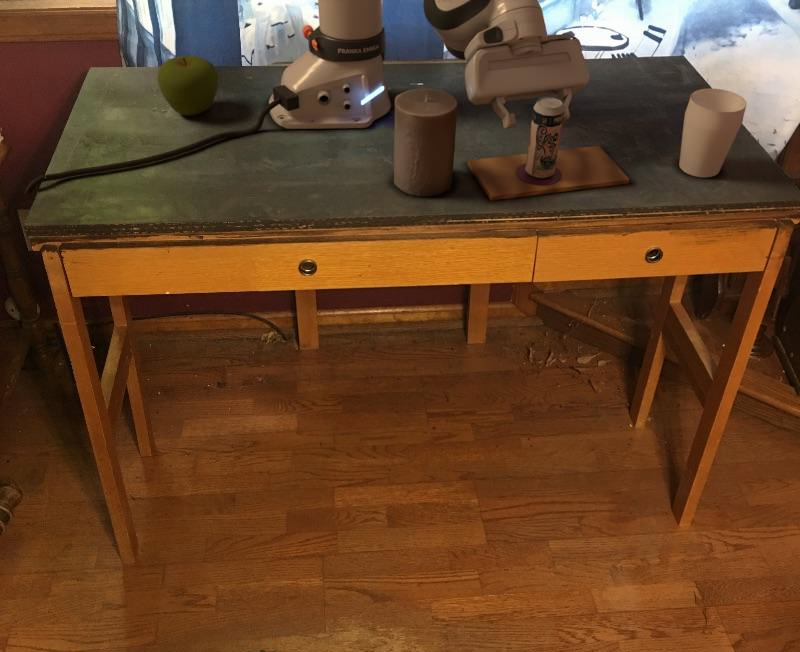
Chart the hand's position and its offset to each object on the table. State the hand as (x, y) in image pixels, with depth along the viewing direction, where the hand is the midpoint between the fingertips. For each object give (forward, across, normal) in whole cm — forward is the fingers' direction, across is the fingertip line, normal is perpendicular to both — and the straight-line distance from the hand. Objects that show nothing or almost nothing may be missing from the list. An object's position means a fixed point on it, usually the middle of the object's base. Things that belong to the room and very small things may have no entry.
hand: (537, 123), depth 137 cm
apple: (-21, +50, -33) cm, 64 cm away
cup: (+11, -28, -1) cm, 30 cm away
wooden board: (+7, -2, -5) cm, 9 cm away
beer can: (+7, -1, -4) cm, 8 cm away
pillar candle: (+5, +18, -8) cm, 21 cm away
